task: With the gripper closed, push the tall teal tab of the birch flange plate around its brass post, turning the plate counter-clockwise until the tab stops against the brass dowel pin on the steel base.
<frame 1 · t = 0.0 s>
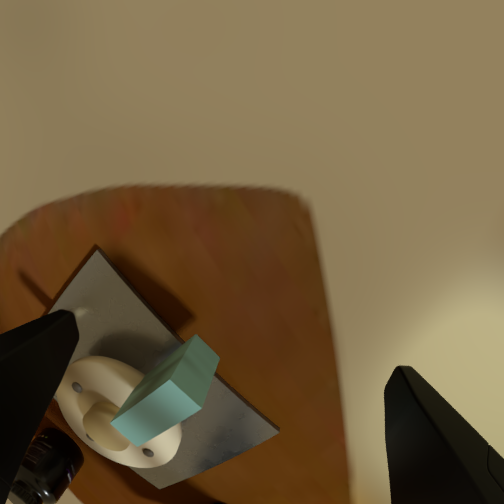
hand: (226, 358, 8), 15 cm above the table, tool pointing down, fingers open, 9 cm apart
supplement bottle: (64, 445, 30), on the table
base: (130, 396, 26), on the table
flange: (121, 422, 20), point 6 cm above the table, hinge at 0.0°
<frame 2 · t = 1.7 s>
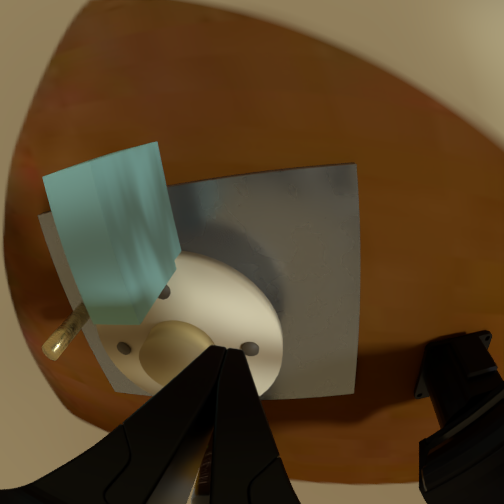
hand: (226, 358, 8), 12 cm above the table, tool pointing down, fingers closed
supplement bottle: (240, 439, 29), on the table
base: (198, 311, 22), on the table
flange: (157, 329, 16), point 6 cm above the table, hinge at 0.0°
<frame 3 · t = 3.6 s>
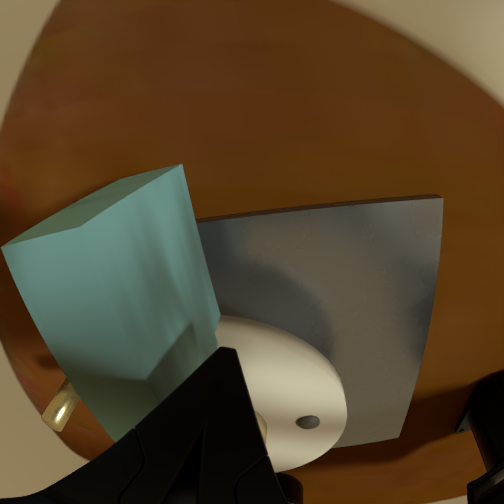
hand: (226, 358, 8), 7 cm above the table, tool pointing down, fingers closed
supplement bottle: (267, 482, 25), on the table
base: (232, 369, 18), on the table
flange: (196, 420, 11), point 6 cm above the table, hinge at 1.5°, touching gripper
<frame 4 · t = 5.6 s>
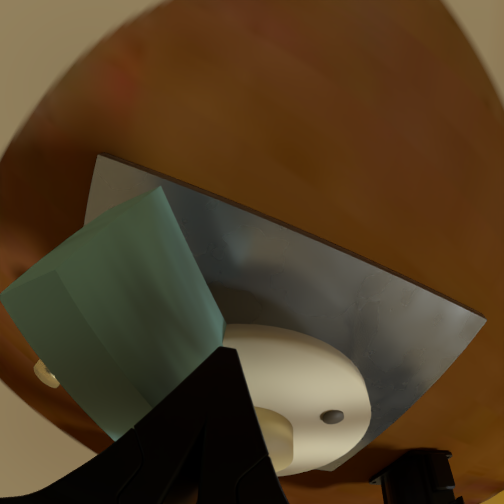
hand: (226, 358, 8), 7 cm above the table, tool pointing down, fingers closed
base: (254, 373, 18), on the table
flange: (218, 429, 11), point 6 cm above the table, hinge at 42.6°, touching gripper
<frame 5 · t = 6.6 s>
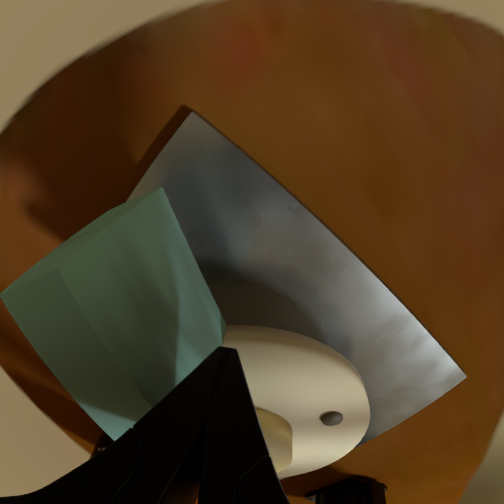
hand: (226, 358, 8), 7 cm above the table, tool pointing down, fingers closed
base: (253, 375, 18), on the table
flange: (217, 430, 11), point 6 cm above the table, hinge at 61.1°, touching gripper
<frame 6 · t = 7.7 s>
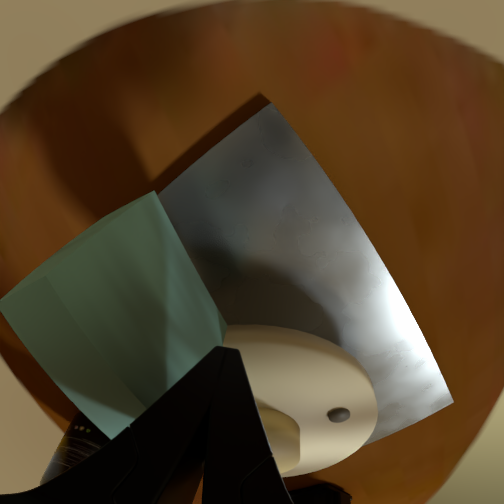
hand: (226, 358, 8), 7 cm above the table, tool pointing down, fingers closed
supplement bottle: (109, 429, 23), on the table
base: (260, 374, 18), on the table
flange: (222, 431, 11), point 6 cm above the table, hinge at 75.2°, touching base, gripper
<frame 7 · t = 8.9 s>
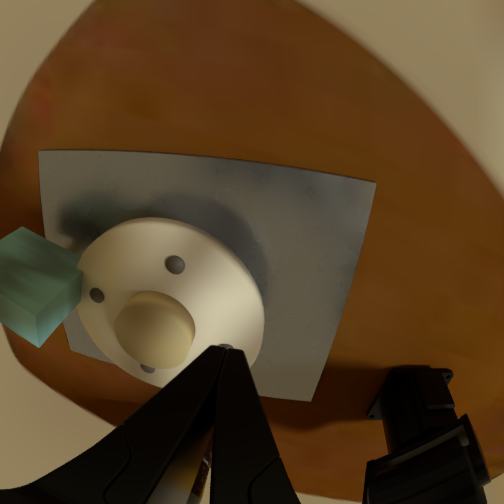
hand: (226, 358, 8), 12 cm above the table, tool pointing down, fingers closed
supplement bottle: (185, 423, 29), on the table
base: (179, 287, 21), on the table
flange: (101, 320, 16), point 6 cm above the table, hinge at 75.2°, touching base
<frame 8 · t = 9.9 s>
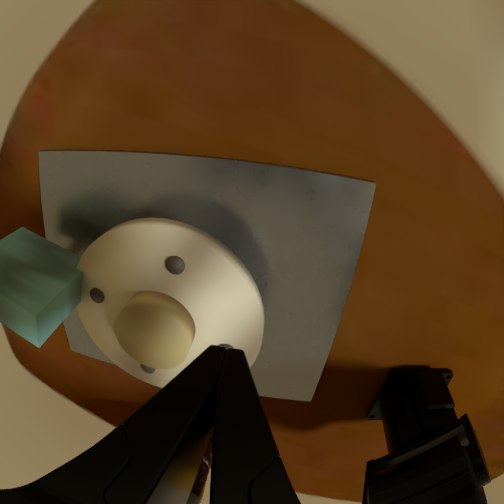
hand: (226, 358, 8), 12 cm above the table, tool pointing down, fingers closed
supplement bottle: (185, 424, 29), on the table
base: (179, 287, 21), on the table
flange: (101, 321, 16), point 6 cm above the table, hinge at 75.2°, touching base
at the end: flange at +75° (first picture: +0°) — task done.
